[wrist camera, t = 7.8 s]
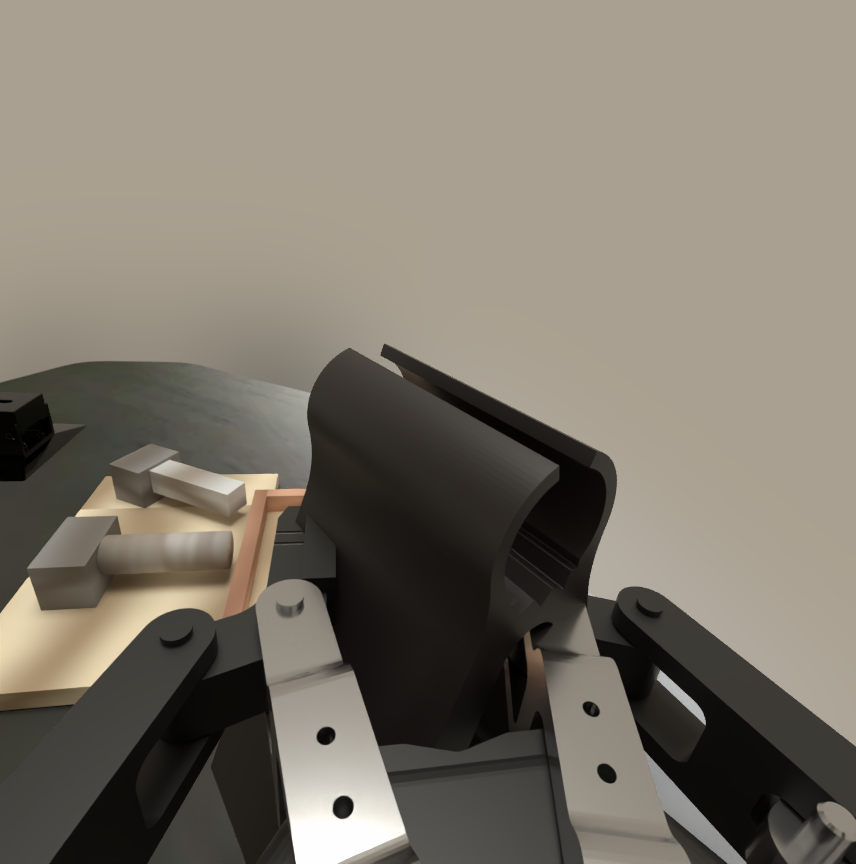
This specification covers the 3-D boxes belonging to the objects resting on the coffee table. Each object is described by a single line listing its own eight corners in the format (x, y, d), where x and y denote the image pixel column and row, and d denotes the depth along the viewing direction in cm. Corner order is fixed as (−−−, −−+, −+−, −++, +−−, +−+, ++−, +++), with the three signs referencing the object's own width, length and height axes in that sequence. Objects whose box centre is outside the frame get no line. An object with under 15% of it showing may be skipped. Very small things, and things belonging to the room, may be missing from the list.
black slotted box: (22, 420, 44) (7, 371, 42) (110, 423, 45) (100, 375, 43) (-92, 499, 33) (-119, 438, 31) (28, 500, 34) (10, 440, 32)
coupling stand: (-58, 716, 20) (-91, 653, 19) (108, 488, 35) (98, 443, 34) (442, 671, 24) (450, 616, 23) (401, 483, 39) (403, 442, 38)
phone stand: (454, 635, 19) (504, 329, 14) (581, 770, 15) (719, 407, 10) (211, 774, 14) (149, 370, 9) (304, 1036, 10) (289, 567, 5)
